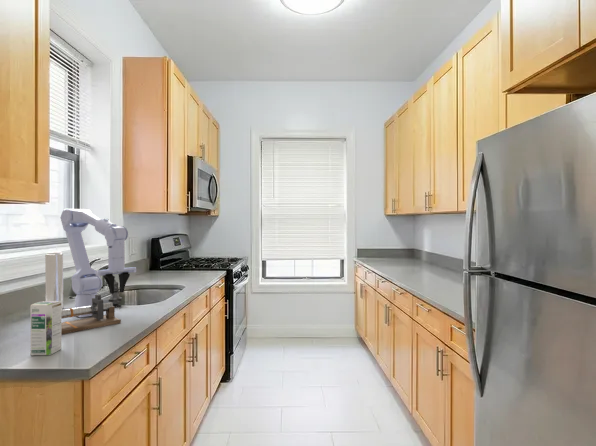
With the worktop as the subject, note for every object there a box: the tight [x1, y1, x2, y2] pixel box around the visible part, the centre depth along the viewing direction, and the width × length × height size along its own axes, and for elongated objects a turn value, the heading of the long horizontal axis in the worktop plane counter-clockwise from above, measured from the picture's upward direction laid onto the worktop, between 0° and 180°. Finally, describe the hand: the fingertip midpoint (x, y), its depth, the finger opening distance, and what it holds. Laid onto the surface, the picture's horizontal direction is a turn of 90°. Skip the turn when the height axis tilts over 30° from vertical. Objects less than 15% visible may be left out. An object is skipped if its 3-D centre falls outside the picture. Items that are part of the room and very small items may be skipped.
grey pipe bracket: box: [91, 293, 105, 320], centre depth 143 cm, size 7×2×8 cm, turn 47°
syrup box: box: [29, 300, 62, 357], centre depth 111 cm, size 6×6×14 cm
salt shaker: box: [107, 279, 123, 308], centre depth 171 cm, size 6×6×12 cm
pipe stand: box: [61, 302, 122, 335], centre depth 139 cm, size 12×22×7 cm, turn 137°
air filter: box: [44, 251, 64, 310], centre depth 166 cm, size 6×6×25 cm
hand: (116, 292), depth 148 cm, fingers open, 3 cm apart
